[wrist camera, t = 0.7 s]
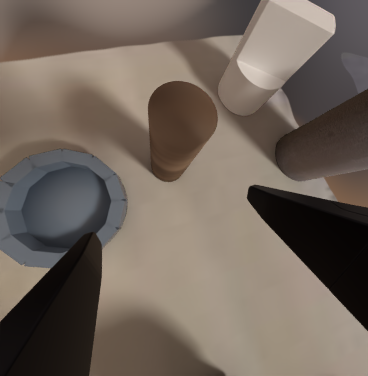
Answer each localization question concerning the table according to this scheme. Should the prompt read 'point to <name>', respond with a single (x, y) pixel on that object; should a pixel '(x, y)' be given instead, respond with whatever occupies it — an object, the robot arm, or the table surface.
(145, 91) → the table surface
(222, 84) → the cylinder with rectangular tab
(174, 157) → the brown tapered cylinder
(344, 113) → the pillar candle
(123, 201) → the ceramic ring dish
